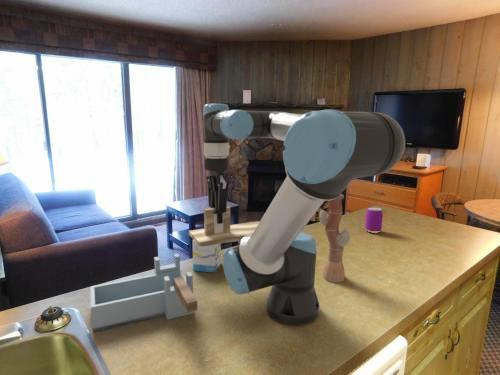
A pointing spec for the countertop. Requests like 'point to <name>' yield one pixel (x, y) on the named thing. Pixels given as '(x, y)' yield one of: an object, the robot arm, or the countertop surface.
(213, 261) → the ink box
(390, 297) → the countertop surface
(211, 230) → the lid
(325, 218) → the vase
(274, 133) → the robot arm
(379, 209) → the beverage can
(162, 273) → the grey box with brackets
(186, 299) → the cross bar
